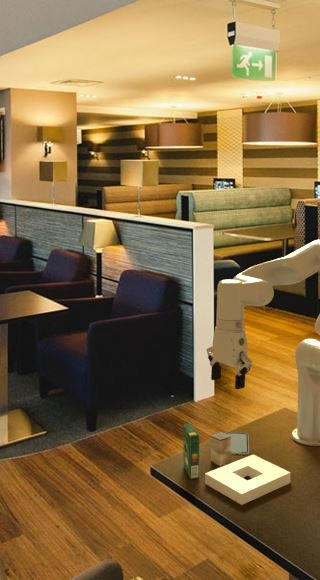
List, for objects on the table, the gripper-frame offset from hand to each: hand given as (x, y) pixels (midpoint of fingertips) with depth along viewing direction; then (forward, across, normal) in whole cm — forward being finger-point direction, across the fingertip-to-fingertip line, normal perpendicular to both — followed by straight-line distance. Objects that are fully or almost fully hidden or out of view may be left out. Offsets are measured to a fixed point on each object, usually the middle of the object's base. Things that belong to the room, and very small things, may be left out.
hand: (227, 383), depth 176 cm
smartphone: (+24, +7, -12) cm, 28 cm away
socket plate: (+24, -13, +3) cm, 27 cm away
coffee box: (+24, +2, +11) cm, 27 cm away
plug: (+24, +1, 0) cm, 24 cm away
